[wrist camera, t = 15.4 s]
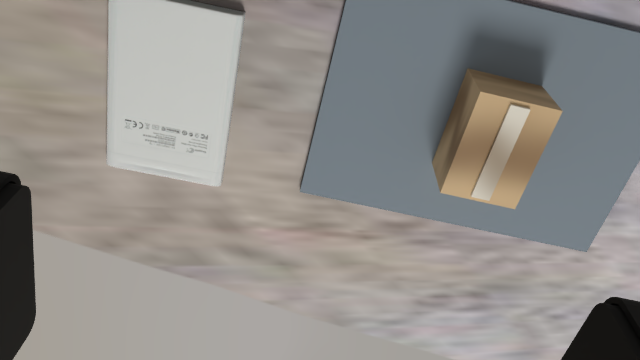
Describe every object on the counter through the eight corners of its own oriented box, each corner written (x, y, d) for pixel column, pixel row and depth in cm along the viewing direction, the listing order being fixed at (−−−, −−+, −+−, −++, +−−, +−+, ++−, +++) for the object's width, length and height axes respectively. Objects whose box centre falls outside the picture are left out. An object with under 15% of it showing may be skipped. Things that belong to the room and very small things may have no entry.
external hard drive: (247, 9, 36) (224, 177, 42) (116, -19, 35) (112, 155, 41) (243, 16, 34) (219, 189, 41) (106, -13, 34) (104, 166, 40)
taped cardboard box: (467, 68, 36) (481, 92, 32) (542, 86, 36) (563, 112, 33) (431, 162, 40) (440, 194, 36) (500, 178, 40) (515, 211, 36)
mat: (300, 189, 41) (299, 191, 41) (354, -38, 34) (355, -37, 33) (584, 248, 43) (586, 251, 43) (700, 46, 35) (704, 48, 35)
